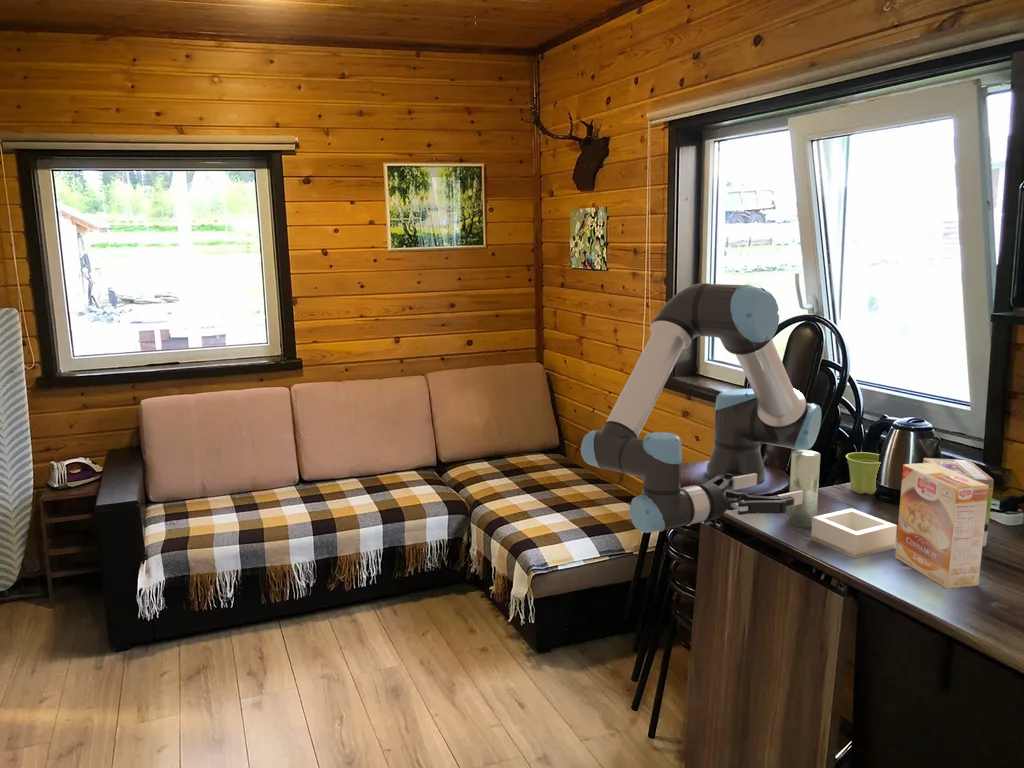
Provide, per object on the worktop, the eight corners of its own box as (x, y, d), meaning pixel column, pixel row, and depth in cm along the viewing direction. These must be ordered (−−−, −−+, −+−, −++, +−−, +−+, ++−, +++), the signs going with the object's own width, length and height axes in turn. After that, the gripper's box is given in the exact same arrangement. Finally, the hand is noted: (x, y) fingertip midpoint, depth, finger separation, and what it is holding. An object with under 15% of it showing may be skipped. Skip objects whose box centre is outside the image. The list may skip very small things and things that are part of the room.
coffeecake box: (893, 557, 165) (901, 463, 161) (925, 554, 167) (933, 461, 163) (945, 589, 151) (955, 487, 147) (980, 586, 152) (990, 484, 148)
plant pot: (868, 499, 199) (870, 464, 198) (835, 488, 207) (837, 455, 206) (892, 492, 204) (895, 458, 202) (859, 482, 212) (862, 450, 210)
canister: (781, 520, 186) (785, 452, 183) (801, 516, 189) (805, 448, 186) (801, 529, 181) (806, 458, 178) (821, 524, 183) (826, 455, 180)
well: (810, 539, 175) (812, 517, 174) (849, 530, 180) (851, 508, 179) (855, 558, 165) (856, 535, 164) (895, 548, 170) (896, 525, 169)
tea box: (988, 548, 170) (995, 479, 167) (935, 544, 172) (941, 476, 169) (964, 522, 184) (970, 458, 181) (915, 519, 186) (921, 456, 183)
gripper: (662, 502, 182) (737, 488, 191) (740, 541, 160) (821, 522, 169) (663, 470, 180) (739, 456, 189) (742, 504, 158) (823, 487, 168)
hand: (778, 487), depth 179 cm, fingers open, 13 cm apart
